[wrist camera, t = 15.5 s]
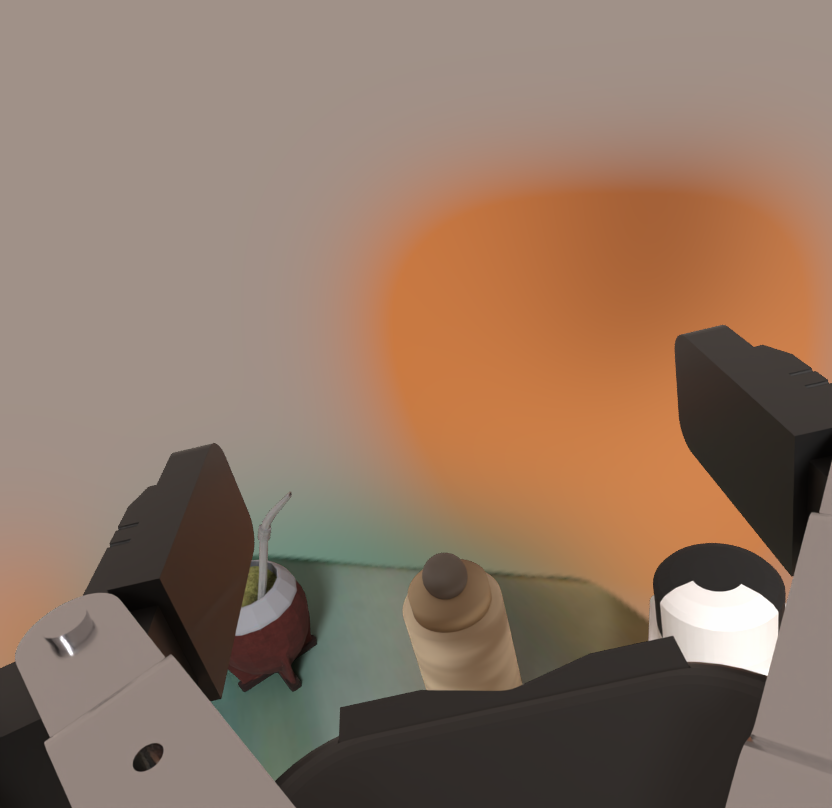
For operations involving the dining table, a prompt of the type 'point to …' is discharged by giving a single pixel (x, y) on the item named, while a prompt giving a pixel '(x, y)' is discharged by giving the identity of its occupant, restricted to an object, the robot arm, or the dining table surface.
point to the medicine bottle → (719, 605)
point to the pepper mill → (460, 627)
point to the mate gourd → (270, 619)
